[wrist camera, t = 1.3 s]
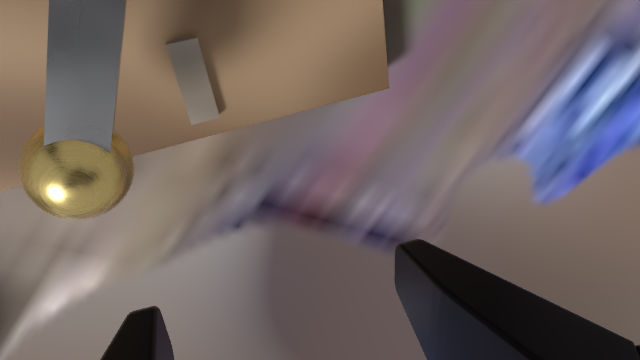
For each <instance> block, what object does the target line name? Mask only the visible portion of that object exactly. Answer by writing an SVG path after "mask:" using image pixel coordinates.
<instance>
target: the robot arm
mask: <svg viewBox="0 0 640 360" xmlns="http://www.w3.org/2000/svg"><path fill="white" fill-rule="evenodd" d="M395 286H396V291H397V294H398V296H399V298H400V301H401V303H402V305H403V307H404V309H405V312H406V314H407V316H408V318H409V321H410V322H411V325H412V327H413V329H414V332H415V334H416V336H417V338H418V340H419V343H420V345H421V347H422V349H423V352H424V354H425V356H426V358H427V360H640V345H637V346H635V345H634V343H633V342H632V341H630V340H628V339H626V338H624V337H622V336H620V335H618V334H616V333H613V332H612V331H609V330H607V329H605V328H603V327H601V326H599V325H597V324H595V323H593V322H591V321H589V320H587V319H584V318H583V317H581V316H579V315H576V314H574V313H572V312H570V311H568V310H566V309H564V308H562V307H560V306H558V305H556V304H554V303H552V302H550V301H548V300H546V299H543V298H541V297H539V296H537V295H535V294H533V293H531V292H529V291H527V290H525V289H523V288H521V287H518V286H516V285H515V284H513V283H510V282H508V281H506V280H504V279H502V278H500V277H498V276H496V275H494V274H492V273H490V272H488V271H486V270H484V269H481V268H480V267H477V266H475V265H473V264H471V263H469V262H467V261H465V260H463V259H461V258H459V257H457V256H455V255H453V254H450V253H449V252H447V251H444V250H442V249H440V248H438V247H436V246H434V245H432V244H430V243H428V242H426V241H424V240H421V239H415V240H411V241H407V242H403V243H400V244H398V245H397V247H396V250H395ZM101 360H174V355H173V349H172V345H171V342H170V338H169V335H168V332H167V329H166V326H165V323H164V320H163V317H162V314H161V311H160V309H159V308H158V307H156V306H151V307H148V308H143V309H140V310H136V311H133V312H131V313H129V314H128V315H127V317H126V319H125V320H124V322H123V323H122V325H121V327H120V328H119V330H118V332H117V334H116V335H115V337H114V338H113V340H112V342H111V344H110V345H109V346H108V348H107V350H106V351H105V353H104V355H103V356H102V358H101Z"/></svg>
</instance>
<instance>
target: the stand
mask: <svg viewBox="0 0 640 360" xmlns="http://www.w3.org/2000/svg"><path fill="white" fill-rule="evenodd" d="M48 14H49V0H0V191H3V190H7V189H11V188H15V187H19V186H22V184H21V181H20V177H19V158H20V155H21V152H22V149H23V147H24V145H25V143H26V142H27V140H28V139H29V138H30V136H31V135H32V134H33V133H34V132H35V131H37V130H38V129H39V128H40V127H42V126H43V125H44V124H45V96H46V69H47V41H48ZM388 88H389V80H388V66H387V53H386V39H385V26H384V13H383V0H127V5H126V15H125V25H124V35H123V44H122V54H121V64H120V74H119V84H118V94H117V104H116V114H115V124H114V130H115V131H116V132H117V133H118V134H120V135H121V137H122V138H123V139H124V140H125V142H126V143H127V145H128V147H129V149H130V151H131V153H132V156H135V155H139V154H143V153H147V152H151V151H154V150H158V149H162V148H166V147H169V146H173V145H177V144H181V143H184V142H188V141H192V140H196V139H200V138H203V137H207V136H211V135H215V134H218V133H222V132H226V131H230V130H234V129H237V128H241V127H245V126H249V125H252V124H256V123H260V122H264V121H267V120H271V119H275V118H279V117H283V116H286V115H290V114H294V113H298V112H301V111H305V110H309V109H313V108H317V107H320V106H324V105H328V104H332V103H335V102H339V101H343V100H347V99H350V98H354V97H358V96H362V95H366V94H369V93H373V92H377V91H381V90H384V89H388Z"/></svg>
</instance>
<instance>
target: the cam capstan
mask: <svg viewBox="0 0 640 360" xmlns="http://www.w3.org/2000/svg"><path fill="white" fill-rule="evenodd" d="M126 5H127V0H49V14H48V41H47V69H46V96H45V124H44V125H43V126H42V127H40V128H39V129H38V130H37V131H35V132H34V133H33V134H32V135H31V136H30V138H29V139H28V140H27V142H26V143H25V145H24V147H23V149H22V152H21V155H20V158H19V177H20V181H21V184H22V186H23V188H24V190H25V192H26V194H27V195H28V196H29V198H30V199H31V200H32V201H33V202H34V203H35V204H36V205H37V206H38V207H40V208H41V209H42V210H44V211H46V212H47V213H50V214H52V215H54V216H57V217H60V218H65V219H73V220H81V219H89V218H94V217H97V216H100V215H102V214H104V213H106V212H108V211H110V210H111V209H113V208H114V207H115V206H117V205H118V204H119V203H120V202H121V201H122V200H123V198H124V197H125V196H126V194H127V192H128V190H129V189H130V186H131V184H132V180H133V175H134V162H133V157H132V153H131V151H130V149H129V147H128V145H127V143H126V142H125V140H124V139H123V138H122V137H121V135H120V134H118V133H117V132H116V131H115V130H114V124H115V114H116V104H117V94H118V84H119V74H120V64H121V54H122V44H123V35H124V25H125V15H126Z"/></svg>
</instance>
